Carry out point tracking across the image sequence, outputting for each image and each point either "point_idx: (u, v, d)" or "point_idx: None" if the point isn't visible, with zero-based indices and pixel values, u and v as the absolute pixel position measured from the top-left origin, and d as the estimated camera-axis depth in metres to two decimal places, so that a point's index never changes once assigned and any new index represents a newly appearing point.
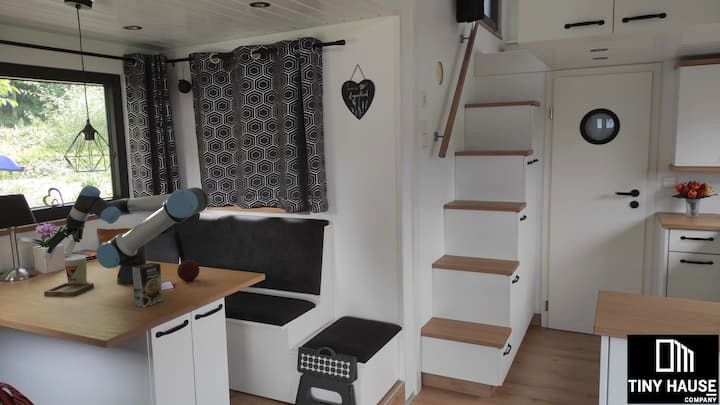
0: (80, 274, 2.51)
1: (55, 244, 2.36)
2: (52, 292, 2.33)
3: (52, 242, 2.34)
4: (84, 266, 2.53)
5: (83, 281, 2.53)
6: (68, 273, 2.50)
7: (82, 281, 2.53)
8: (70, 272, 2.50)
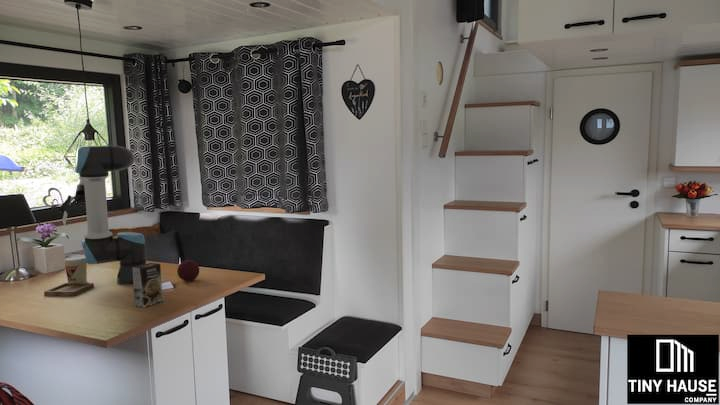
0: (80, 274, 2.51)
1: (64, 208, 2.64)
2: (52, 292, 2.33)
3: None
4: (84, 266, 2.53)
5: (83, 281, 2.53)
6: (68, 273, 2.50)
7: (82, 281, 2.53)
8: (70, 272, 2.50)
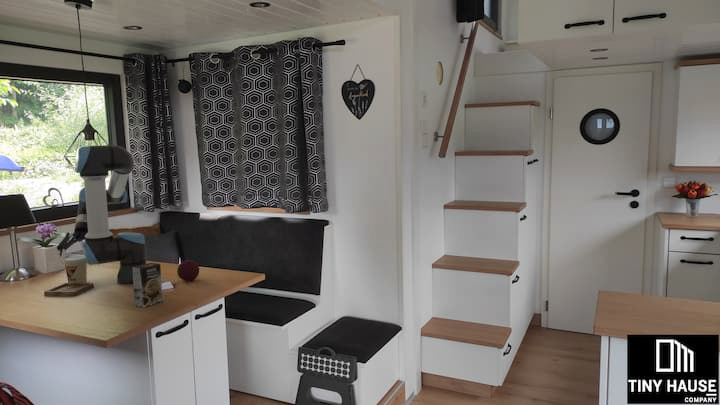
0: (80, 274, 2.51)
1: None
2: (52, 292, 2.33)
3: None
4: (84, 266, 2.53)
5: (83, 281, 2.53)
6: (68, 273, 2.50)
7: (82, 281, 2.53)
8: (70, 272, 2.50)
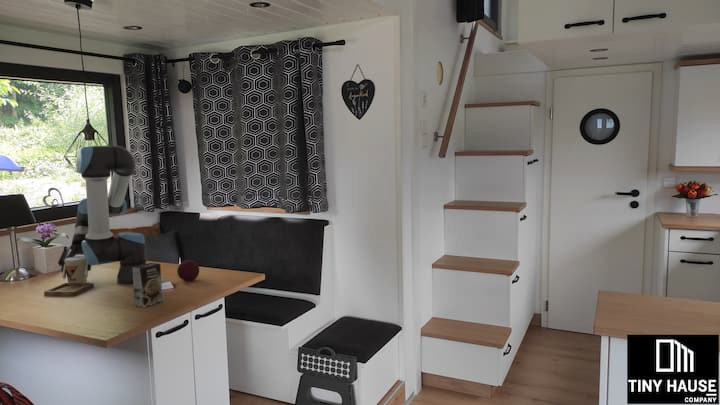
0: (80, 274, 2.51)
1: (63, 261, 2.54)
2: (52, 292, 2.33)
3: None
4: (84, 266, 2.53)
5: (83, 281, 2.53)
6: (68, 273, 2.50)
7: (82, 281, 2.53)
8: (70, 272, 2.50)
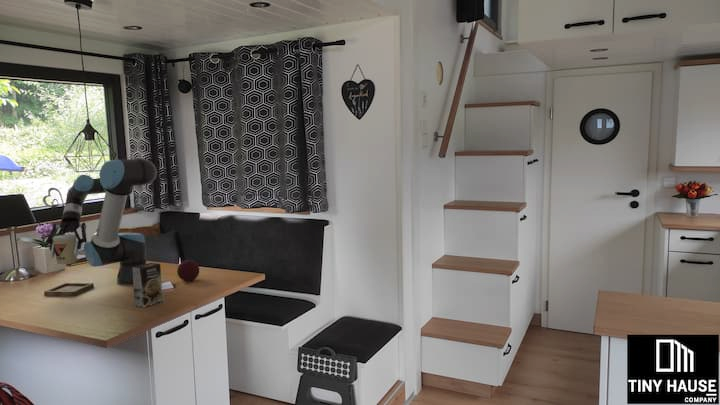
0: (69, 253, 2.37)
1: (52, 239, 2.40)
2: (52, 292, 2.33)
3: None
4: (74, 244, 2.38)
5: (73, 260, 2.39)
6: (57, 251, 2.36)
7: (71, 260, 2.38)
8: (58, 251, 2.35)
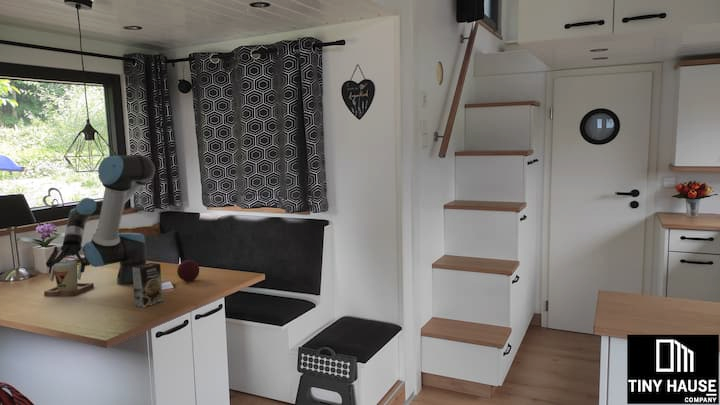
0: (70, 280, 2.37)
1: (52, 262, 2.39)
2: (52, 292, 2.33)
3: None
4: (75, 271, 2.38)
5: (74, 287, 2.38)
6: (57, 279, 2.35)
7: (72, 287, 2.38)
8: (59, 278, 2.35)
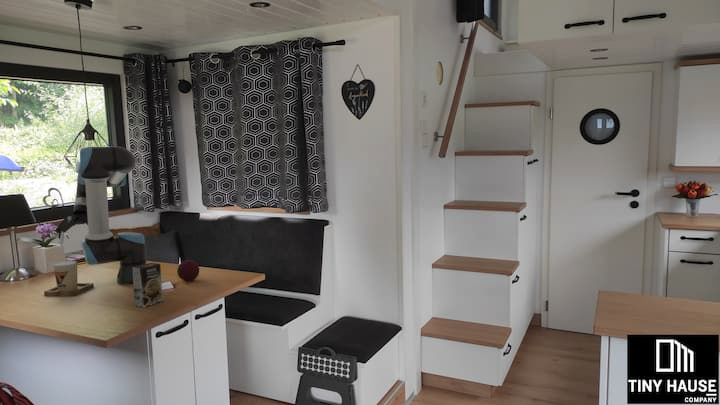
0: (70, 280, 2.37)
1: None
2: (52, 292, 2.33)
3: None
4: (75, 271, 2.38)
5: (74, 287, 2.38)
6: (57, 279, 2.35)
7: (72, 287, 2.38)
8: (59, 278, 2.35)
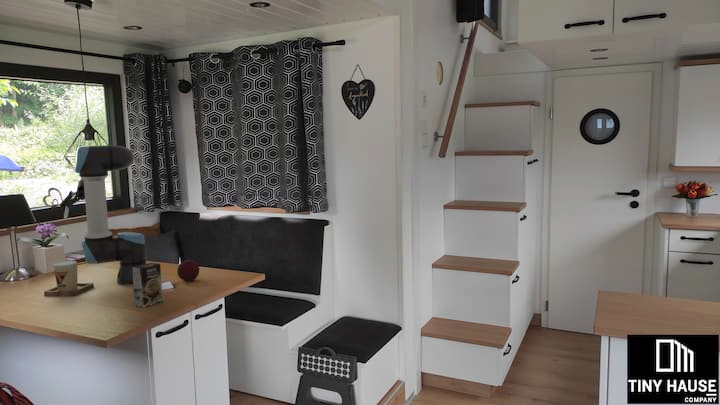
0: (70, 280, 2.37)
1: (65, 204, 2.65)
2: (52, 292, 2.33)
3: None
4: (75, 271, 2.38)
5: (74, 287, 2.38)
6: (57, 279, 2.35)
7: (72, 287, 2.38)
8: (59, 278, 2.35)
